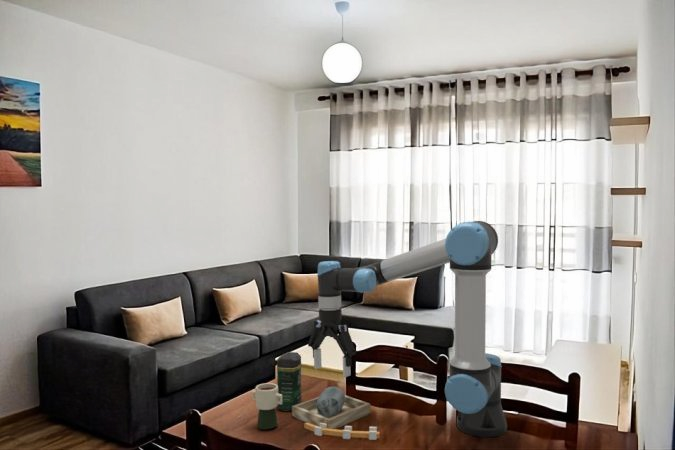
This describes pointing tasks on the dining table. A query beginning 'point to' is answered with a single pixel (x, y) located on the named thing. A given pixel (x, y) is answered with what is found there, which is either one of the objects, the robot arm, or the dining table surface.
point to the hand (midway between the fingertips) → (332, 372)
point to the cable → (339, 432)
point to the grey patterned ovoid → (330, 402)
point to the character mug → (267, 404)
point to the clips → (346, 431)
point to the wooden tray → (347, 414)
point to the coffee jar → (289, 380)
